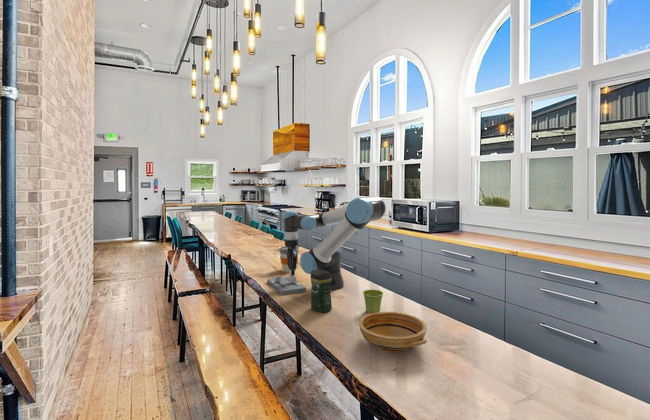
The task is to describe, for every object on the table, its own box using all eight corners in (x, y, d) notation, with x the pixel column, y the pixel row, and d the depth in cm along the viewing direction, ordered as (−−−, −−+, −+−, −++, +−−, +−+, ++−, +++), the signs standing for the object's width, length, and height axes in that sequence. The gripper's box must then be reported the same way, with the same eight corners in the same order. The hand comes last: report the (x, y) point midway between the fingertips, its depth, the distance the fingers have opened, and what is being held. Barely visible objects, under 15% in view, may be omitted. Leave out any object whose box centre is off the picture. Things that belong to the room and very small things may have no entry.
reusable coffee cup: (298, 272, 232) (297, 249, 231) (278, 272, 232) (278, 249, 231) (299, 267, 244) (299, 246, 243) (281, 268, 245) (280, 246, 243)
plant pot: (385, 309, 166) (386, 290, 165) (380, 316, 157) (380, 297, 156) (366, 306, 170) (366, 288, 169) (359, 313, 161) (359, 294, 160)
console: (306, 291, 193) (306, 287, 193) (281, 295, 187) (281, 291, 187) (289, 279, 217) (289, 275, 217) (267, 282, 211) (267, 278, 211)
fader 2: (296, 282, 201) (296, 277, 201) (291, 283, 200) (291, 277, 199) (295, 282, 203) (295, 276, 203) (290, 282, 202) (289, 276, 201)
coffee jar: (334, 310, 165) (334, 270, 164) (321, 314, 160) (321, 273, 158) (321, 304, 173) (320, 266, 171) (308, 308, 167) (307, 269, 166)
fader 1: (280, 281, 204) (280, 275, 204) (275, 282, 203) (275, 276, 202) (279, 280, 206) (279, 275, 205) (274, 281, 204) (274, 275, 204)
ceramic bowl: (341, 338, 136) (341, 317, 136) (389, 323, 149) (389, 305, 148) (395, 373, 111) (395, 348, 111) (447, 352, 124) (448, 330, 123)
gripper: (281, 237, 205) (282, 278, 207) (288, 241, 193) (289, 284, 195) (293, 236, 208) (294, 276, 210) (301, 240, 197) (302, 282, 199)
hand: (292, 280), depth 203 cm, fingers closed
